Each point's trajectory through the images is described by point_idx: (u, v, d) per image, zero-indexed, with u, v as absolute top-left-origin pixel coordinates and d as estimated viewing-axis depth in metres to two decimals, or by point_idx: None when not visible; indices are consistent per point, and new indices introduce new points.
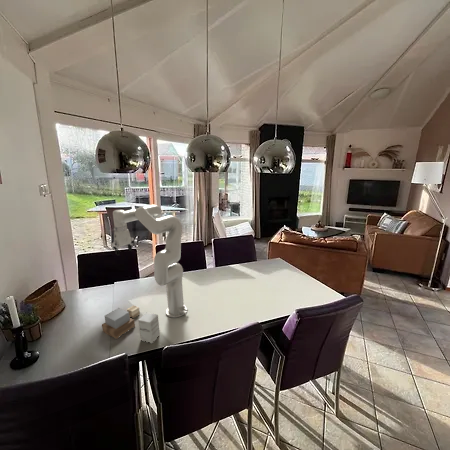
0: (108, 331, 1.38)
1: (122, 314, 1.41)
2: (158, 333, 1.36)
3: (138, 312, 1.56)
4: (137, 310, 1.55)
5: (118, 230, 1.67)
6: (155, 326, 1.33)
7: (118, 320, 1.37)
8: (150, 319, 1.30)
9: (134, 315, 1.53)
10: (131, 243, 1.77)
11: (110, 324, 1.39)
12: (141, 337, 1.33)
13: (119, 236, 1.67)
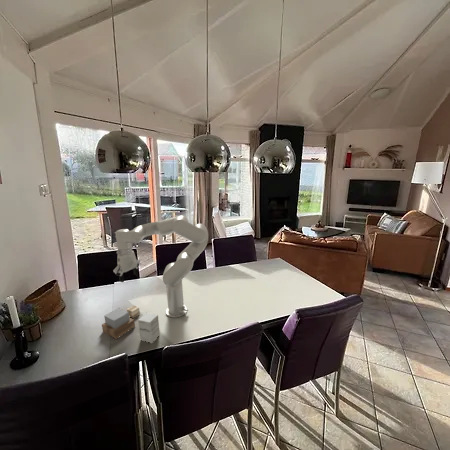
0: (108, 331, 1.38)
1: (122, 314, 1.41)
2: (158, 333, 1.36)
3: (138, 312, 1.56)
4: (137, 310, 1.55)
5: (122, 253, 1.43)
6: (155, 326, 1.33)
7: (118, 320, 1.37)
8: (150, 319, 1.30)
9: (134, 315, 1.53)
10: (137, 267, 1.53)
11: (110, 324, 1.39)
12: (141, 337, 1.33)
13: (123, 260, 1.44)
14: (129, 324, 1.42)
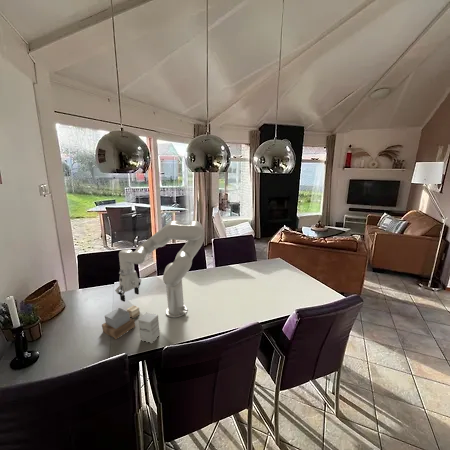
0: (108, 331, 1.38)
1: (122, 314, 1.41)
2: (158, 333, 1.36)
3: (138, 312, 1.56)
4: (137, 310, 1.55)
5: (124, 273, 1.46)
6: (155, 326, 1.33)
7: (118, 320, 1.37)
8: (150, 319, 1.30)
9: (134, 315, 1.53)
10: (138, 286, 1.56)
11: (110, 324, 1.39)
12: (141, 337, 1.33)
13: (126, 280, 1.46)
14: (129, 324, 1.42)
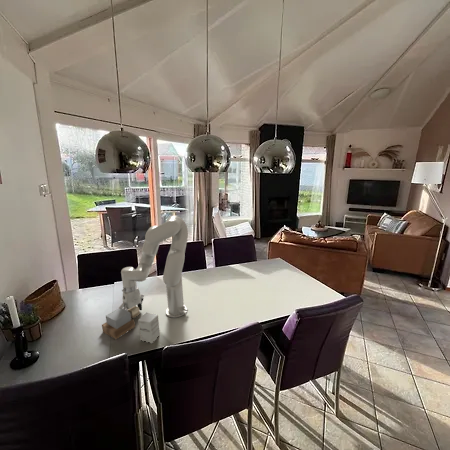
0: (108, 331, 1.38)
1: (123, 314, 1.41)
2: (158, 333, 1.36)
3: (138, 312, 1.56)
4: (137, 310, 1.55)
5: (127, 291, 1.48)
6: (155, 326, 1.33)
7: (119, 320, 1.37)
8: (150, 319, 1.30)
9: (134, 315, 1.53)
10: (141, 302, 1.58)
11: (111, 324, 1.39)
12: (141, 337, 1.33)
13: (129, 297, 1.49)
14: (129, 324, 1.41)
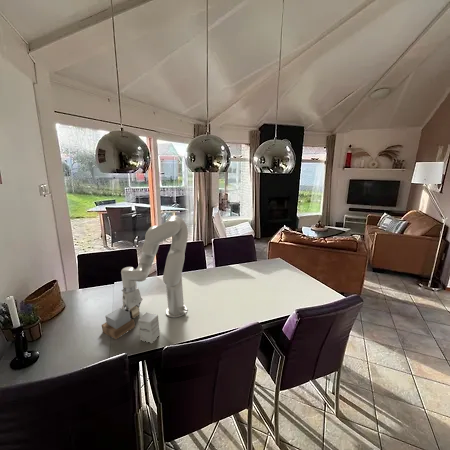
0: (107, 331, 1.38)
1: (123, 314, 1.41)
2: (158, 333, 1.36)
3: (138, 312, 1.56)
4: (137, 310, 1.55)
5: (127, 291, 1.48)
6: (155, 326, 1.33)
7: (119, 320, 1.37)
8: (150, 319, 1.30)
9: (134, 315, 1.53)
10: (139, 305, 1.57)
11: (111, 324, 1.38)
12: (141, 337, 1.33)
13: (129, 297, 1.49)
14: (129, 324, 1.41)
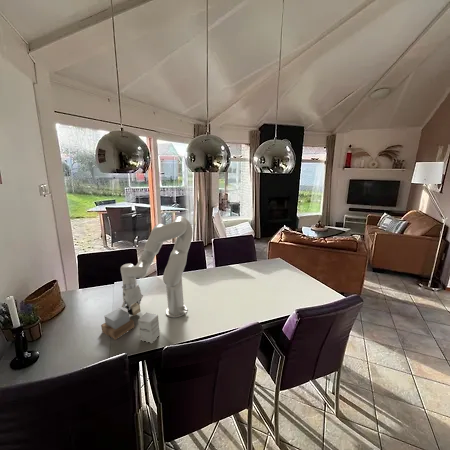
0: (107, 331, 1.38)
1: (122, 314, 1.40)
2: (158, 333, 1.36)
3: (139, 309, 1.55)
4: (138, 307, 1.54)
5: (127, 288, 1.48)
6: (155, 326, 1.33)
7: (117, 321, 1.37)
8: (150, 319, 1.30)
9: (135, 312, 1.53)
10: (139, 301, 1.57)
11: (110, 324, 1.38)
12: (141, 337, 1.33)
13: (129, 294, 1.48)
14: (128, 325, 1.41)
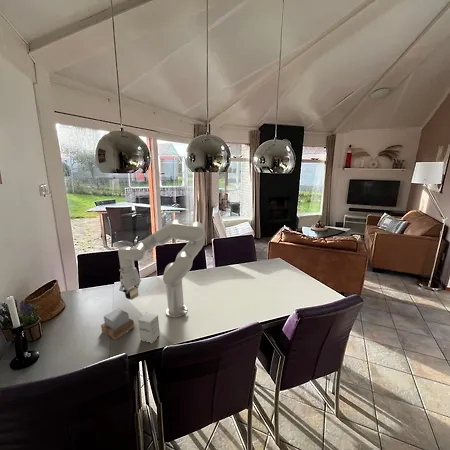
0: (107, 331, 1.38)
1: (121, 315, 1.40)
2: (158, 333, 1.36)
3: (137, 293, 1.53)
4: (135, 291, 1.52)
5: (125, 271, 1.45)
6: (155, 326, 1.33)
7: (117, 321, 1.37)
8: (150, 319, 1.30)
9: (132, 296, 1.50)
10: (137, 285, 1.54)
11: (109, 325, 1.38)
12: (141, 337, 1.33)
13: (126, 277, 1.46)
14: (128, 325, 1.41)
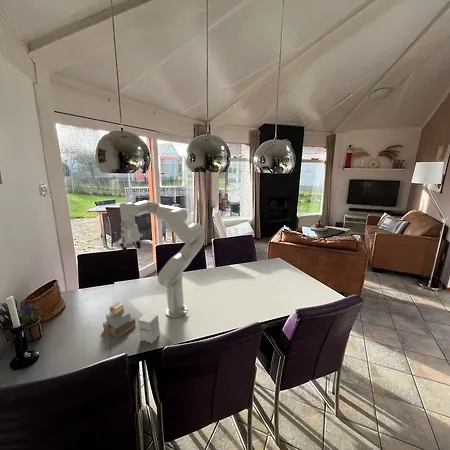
0: (109, 330, 1.39)
1: (123, 314, 1.41)
2: (158, 333, 1.36)
3: (122, 309, 1.42)
4: (121, 307, 1.41)
5: (126, 225, 1.48)
6: (155, 326, 1.33)
7: (118, 320, 1.37)
8: (150, 319, 1.30)
9: (118, 313, 1.39)
10: (140, 240, 1.59)
11: (111, 324, 1.39)
12: (141, 337, 1.33)
13: (127, 231, 1.49)
14: (130, 323, 1.43)
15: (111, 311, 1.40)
